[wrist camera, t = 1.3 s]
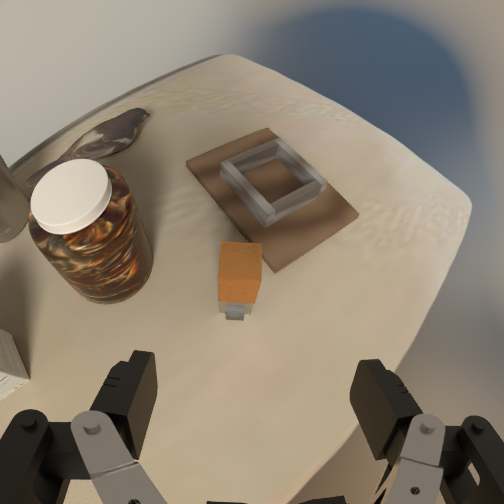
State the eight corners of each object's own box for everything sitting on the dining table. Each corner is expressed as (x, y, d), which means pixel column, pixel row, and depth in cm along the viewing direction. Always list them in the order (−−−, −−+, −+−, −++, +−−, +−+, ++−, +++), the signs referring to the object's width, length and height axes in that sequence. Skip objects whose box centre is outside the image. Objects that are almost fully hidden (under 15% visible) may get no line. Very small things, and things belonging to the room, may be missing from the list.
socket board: (186, 166, 47) (184, 147, 44) (266, 132, 53) (269, 114, 49) (274, 273, 40) (280, 258, 36) (357, 218, 45) (366, 201, 42)
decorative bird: (163, 130, 51) (161, 108, 47) (45, 215, 41) (32, 195, 36) (143, 117, 53) (140, 96, 48) (32, 194, 42) (20, 175, 38)
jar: (133, 212, 42) (107, 131, 29) (167, 278, 38) (143, 203, 25) (61, 249, 38) (12, 179, 25) (86, 321, 34) (24, 266, 21)
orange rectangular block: (251, 320, 36) (261, 288, 28) (218, 318, 36) (217, 285, 27) (252, 280, 39) (261, 237, 30) (221, 278, 39) (221, 234, 30)
